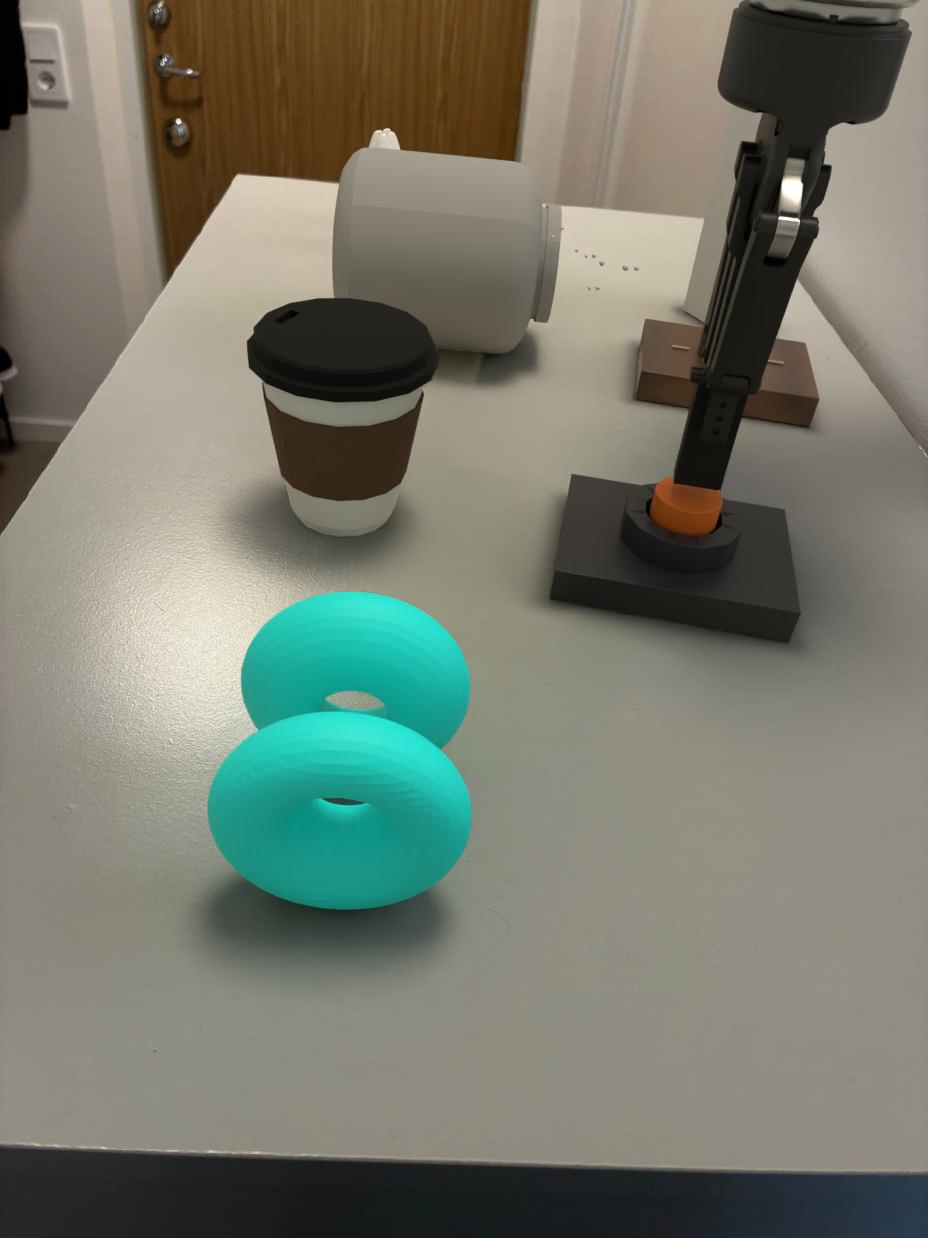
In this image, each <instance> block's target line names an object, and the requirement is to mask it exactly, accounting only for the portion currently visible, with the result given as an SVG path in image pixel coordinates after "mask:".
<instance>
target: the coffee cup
mask: <svg viewBox="0 0 928 1238" xmlns="http://www.w3.org/2000/svg"><path fill="white" fill-rule="evenodd" d="M252 329H253V333H252V334H251V335H250V337H249V338H248V339H247V340H246V352H247V365H248V368H249V370H251V371H252V372H253V373H254V374H255V375H256V376H257V377H258V378H259V379H260V380H261V381H262V382H261V385H262V386H261V387H262V396H263V401H264V406H265V410H266V414H267V415H266V416H267V419H268V422H269V423H268V424H269V427H270V432H271V437H272V442H273V446H274V450H275V454H276V455H275V456H276V458H277V464H278V468H279V472H280V476H281V477H282V478H283V479H284V481H285V482H284V483H285V486H286V491H287V494H288V499H289V503H290V508H291V510H292V511H293V512H294V514H295V516H296V517H297V519H299V520H300V522H301V523H302V524H303V525H304V526H305V527H306V528H308V529H310V530H313V531H314V532H316V533H319V534H321V535H326V536H327V535H328V536H332V537H338V538H343V537H346V538H347V537H359V536H362V535H365V534H369V533H372V532H375V531H376V530H377V529H379V528H380V527H382V526H383V525H384V524H386V523H387V522H388V520H389V518H390V517H391V515H392V514H393V512H394V509H395V507H396V505H397V501H398V497H399V493H400V488H401V484H402V482H403V480H404V477H405V475H406V473H407V471H408V467H409V462H410V459H411V453H412V449H413V446H414V445H413V444H414V441H415V436H416V433H417V427H418V424H419V418H420V415H421V410H422V406H423V401H424V397H425V392H424V390H423V389H424V386H425V385H426V384H428V383H429V382H431V381H432V380H433V378H434V376H435V374H436V371H437V369H438V368H439V366H440V353H439V351H438V348H436V346H435V344H434V342H433V340H432V338H431V335H430V333H429V331H428V328H427V326H426V325H425V324H423V323H422V322H421V321H419V320H418V319H416V318H415V317H413V316H412V315H411V314H409V313H408V312H406V311H403V310H400V309H397V308H394V307H392V306H389V305H386V304H383V303H379V302H372V301H366V300H359V299H353V298H334V297H317V298H311V299H304V300H299V301H298V300H297V301H294V302H288V303H286V304H284V305H281V306H278V307H277V308H274V309H272V310H270V311H267V312H266V313H265V314H264V315H263V316H262V317H261V318H260V320H259V321H258V322H257V323H256V324H255V325H254V326H253V328H252Z"/></svg>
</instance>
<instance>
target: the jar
mask: <svg viewBox="0 0 928 1238" xmlns="http://www.w3.org/2000/svg"><path fill="white" fill-rule="evenodd" d="M562 223H563V211H562V205H559V204H548V203H547V204H546V206H543V199H542V193H541V185H540V183H539V181H538V179H537V176H536V175H535V173H534V171H533V170H532V169H531V168H530V167H529V166H528V165H527V164H525V163H522V162H518V161H514V160H505V159H493V158H485V157H474V156H464V155H454V154H446V153H445V154H444V153H435V152H425V151H424V152H423V151H417V150H416V151H415V150H406V149H405V150H404V149H400V150H395V149H385V148H375V147H374V148H369V147H361V148H360V149H358V150H357V151H355V152H353V153H352V155H350V157H349V159H348V161H347V162H346V163H345V164H344V166H343V168H342V170H341V174H340V177H339V184H338V189H337V194H336V201H335V208H334V218H333V227H332V247H331V248H332V249H331V252H332V253H331V270H332V271H331V272H332V273H331V274H332V275H331V276H332V277H331V278H332V290H333V298H353V299H359V300H366V301H372V302H379V303H383V304H386V305H389V306H392V307H394V308H397V309H400V310H403V311H406V312H408V313H409V314H411V315H412V316H413V317H415V318H416V319H418V320H419V321H421V322H422V323H423V324H425V325H426V326H427V328H428V331H429V333H430V335H431V338H432V340H433V342H434V344H435V346H436V349H441V350H451V351H453V350H454V351H463V352H472V353H473V352H474V353H484V354H492V355H493V354H495V355H496V354H506V353H508V352H511V351H512V350H514V349H515V348H516V347H517V346H518V345H519V343H520V342H521V341H522V339H524V336H525V334H526V331H527V329H528V327H529V323H530V320H533V322H534V323H545V324H547V323H548V322H549V320H550V317H551V313H552V308H553V303H554V297H555V292H556V291H555V290H556V285H557V277H558V269H559V261H560V251H561V242H562V241H561V240H562V231H563V230H564V229H565V227H564V226H563V225H562ZM574 252H575V253H579V248H575V249H574ZM588 257H589V254H588V253H586V254H585V255H584V258H586V259H588ZM591 258H593V259H596V258H597V254H596V253H595V252H593V253H592V254H591ZM605 263H606V262H605V260H604V259H600V260H599V263H598V264H599V266H600V267H603V266H604V265H605ZM621 269H622V270H623V271H628V270H629V269H630V265H629V264H627V263H624V264H623V265H622V267H621ZM633 270H634V271H636V272H637V271H639V270H640V266H639V265H637V264H636V265H635V266H634V267H633ZM600 289H601V286H600V285H596V286H595V290H596V291H599V290H600ZM587 290H588V291H592V286H588V287H587Z"/></svg>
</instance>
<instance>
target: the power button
mask: <svg viewBox="0 0 928 1238" xmlns="http://www.w3.org/2000/svg"><path fill="white" fill-rule="evenodd" d="M657 483H658V484H657V485H656V487H655V491H654V495H653V499H652V503H651V507H650V516H651V519H652V520H653V521H654V522H655V523H656V524H658V525H660V526H662V527H664V528H666V529H668V530H670V531H672V532H675V533H681V534H686V535H692V536H698V535H705V534H709V533H710V532H712V531H713V530H714V528H715V527H716V523H717V520H718V517H719V514H720V510H721V507H722V504H723V498H724V497H723V495H722V493H721V492H720V491H718V490H712V489H705V488H699V487H693V486H686V485H680V484H674V476H669V477H665V478H663V479H661V480H660V481H658V482H657ZM722 497H723V498H722Z"/></svg>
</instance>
